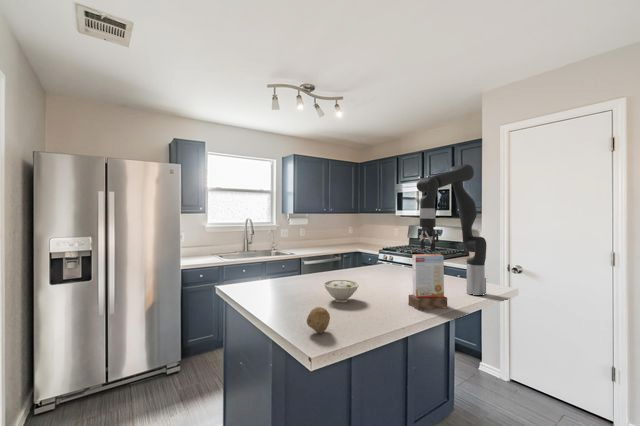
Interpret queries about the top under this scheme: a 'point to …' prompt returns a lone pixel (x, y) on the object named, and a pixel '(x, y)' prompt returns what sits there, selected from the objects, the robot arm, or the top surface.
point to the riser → (427, 302)
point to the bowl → (341, 289)
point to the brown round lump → (318, 319)
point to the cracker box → (428, 275)
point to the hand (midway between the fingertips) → (427, 249)
